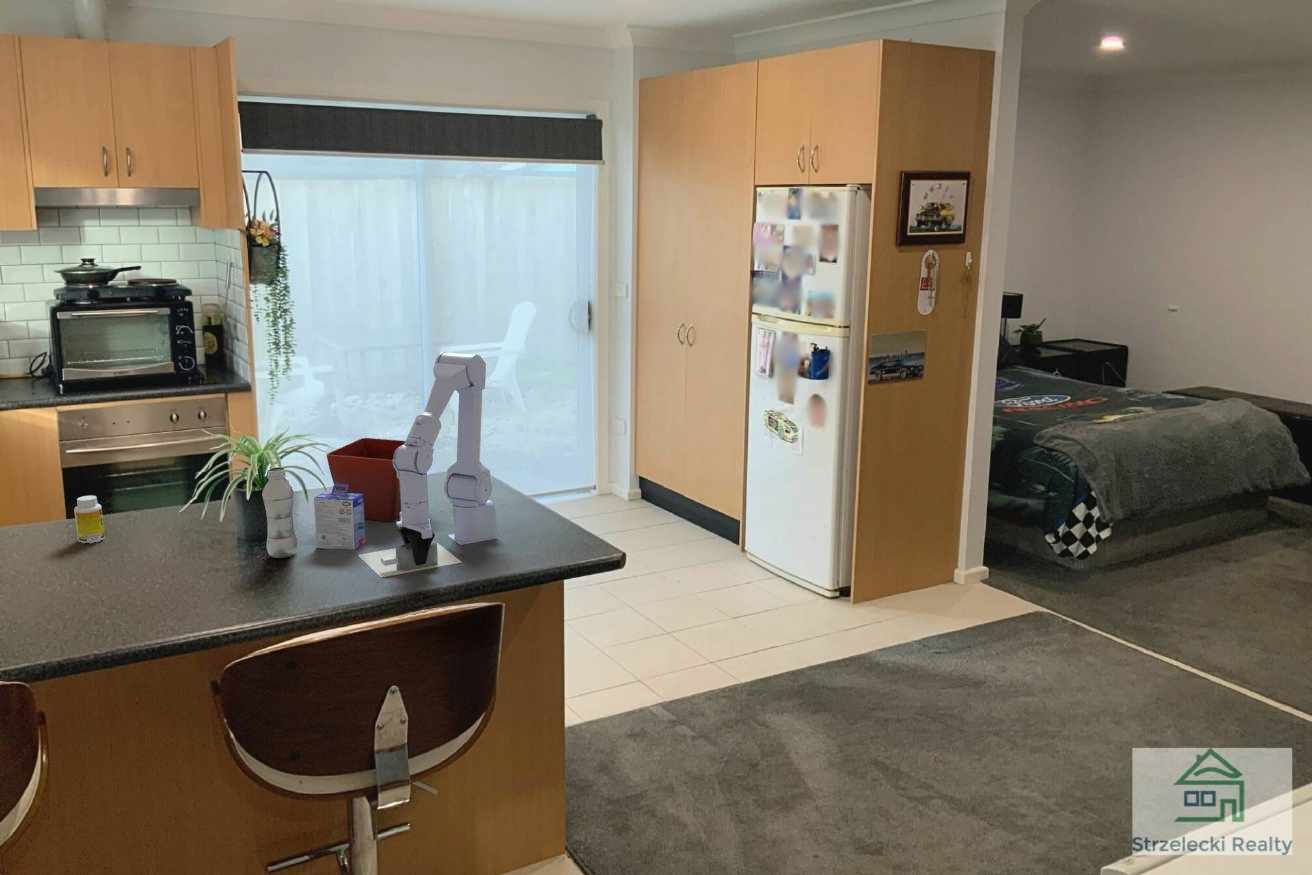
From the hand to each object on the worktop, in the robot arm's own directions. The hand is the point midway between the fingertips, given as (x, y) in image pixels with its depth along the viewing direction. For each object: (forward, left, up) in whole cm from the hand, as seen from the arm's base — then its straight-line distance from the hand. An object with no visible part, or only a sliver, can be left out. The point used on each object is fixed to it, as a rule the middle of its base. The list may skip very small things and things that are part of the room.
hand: (417, 560), depth 227 cm
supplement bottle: (+58, -55, -2) cm, 80 cm away
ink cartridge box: (+10, -22, -2) cm, 24 cm away
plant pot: (-6, -42, -2) cm, 42 cm away
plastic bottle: (+23, -22, -2) cm, 32 cm away
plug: (+2, 0, -1) cm, 2 cm away
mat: (0, -5, -2) cm, 5 cm away
